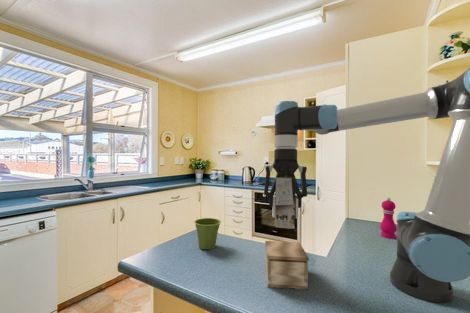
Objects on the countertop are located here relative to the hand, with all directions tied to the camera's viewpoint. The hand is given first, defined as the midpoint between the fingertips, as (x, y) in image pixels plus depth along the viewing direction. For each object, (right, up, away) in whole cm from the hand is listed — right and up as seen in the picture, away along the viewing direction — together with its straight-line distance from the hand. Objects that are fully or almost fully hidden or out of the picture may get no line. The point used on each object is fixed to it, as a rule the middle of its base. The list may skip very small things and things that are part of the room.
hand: (284, 216), depth 77 cm
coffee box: (0, -3, 0) cm, 3 cm away
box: (0, -20, 0) cm, 20 cm away
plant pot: (-29, -20, +25) cm, 43 cm away
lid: (0, -12, 0) cm, 12 cm away
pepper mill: (+62, -21, +40) cm, 77 cm away
